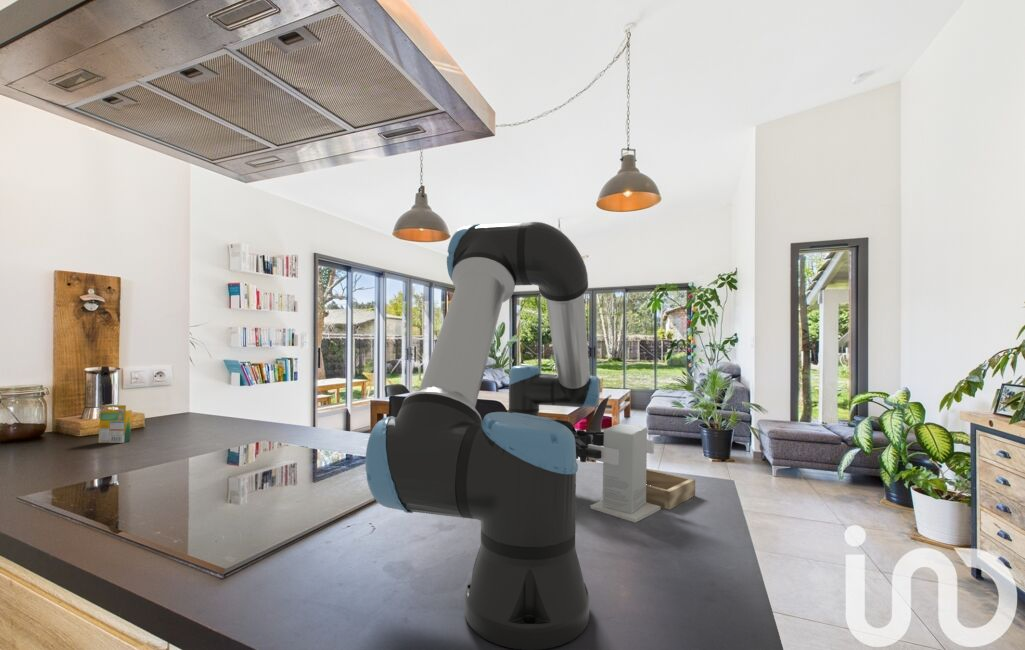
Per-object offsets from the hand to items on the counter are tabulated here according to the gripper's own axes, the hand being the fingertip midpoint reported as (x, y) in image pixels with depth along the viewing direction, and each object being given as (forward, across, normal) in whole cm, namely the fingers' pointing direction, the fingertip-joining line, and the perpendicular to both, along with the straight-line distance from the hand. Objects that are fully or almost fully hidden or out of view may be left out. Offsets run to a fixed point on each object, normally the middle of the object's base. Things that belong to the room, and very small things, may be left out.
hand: (636, 451), depth 90 cm
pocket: (-2, -12, -12) cm, 17 cm away
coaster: (-2, 0, -12) cm, 12 cm away
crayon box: (-142, +68, -12) cm, 158 cm away
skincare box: (-2, 0, -11) cm, 12 cm away
